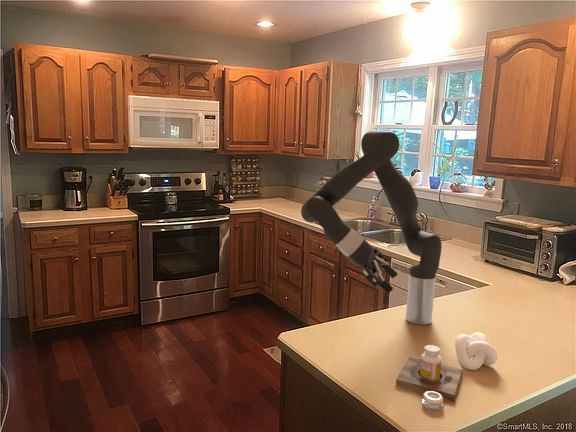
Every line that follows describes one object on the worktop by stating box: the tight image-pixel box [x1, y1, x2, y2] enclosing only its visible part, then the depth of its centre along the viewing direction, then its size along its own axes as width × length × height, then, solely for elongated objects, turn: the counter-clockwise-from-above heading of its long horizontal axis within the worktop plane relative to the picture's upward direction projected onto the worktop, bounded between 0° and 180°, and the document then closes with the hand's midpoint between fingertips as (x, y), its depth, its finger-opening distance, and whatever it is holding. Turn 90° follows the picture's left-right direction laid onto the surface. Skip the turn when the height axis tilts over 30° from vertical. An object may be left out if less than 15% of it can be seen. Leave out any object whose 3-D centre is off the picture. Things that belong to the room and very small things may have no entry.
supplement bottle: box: [420, 344, 442, 380], centre depth 126 cm, size 5×5×10 cm
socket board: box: [395, 355, 463, 403], centre depth 127 cm, size 15×15×2 cm
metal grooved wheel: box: [421, 391, 445, 413], centre depth 115 cm, size 5×3×5 cm
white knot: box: [454, 331, 498, 371], centre depth 136 cm, size 11×12×9 cm
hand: (393, 283), depth 138 cm, fingers open, 8 cm apart
